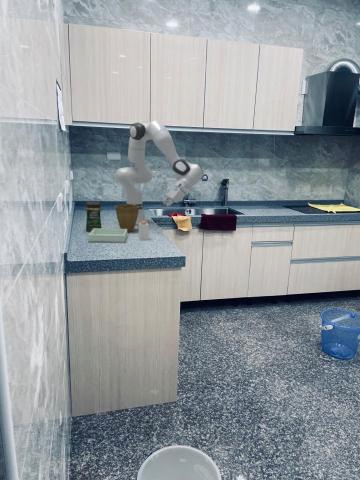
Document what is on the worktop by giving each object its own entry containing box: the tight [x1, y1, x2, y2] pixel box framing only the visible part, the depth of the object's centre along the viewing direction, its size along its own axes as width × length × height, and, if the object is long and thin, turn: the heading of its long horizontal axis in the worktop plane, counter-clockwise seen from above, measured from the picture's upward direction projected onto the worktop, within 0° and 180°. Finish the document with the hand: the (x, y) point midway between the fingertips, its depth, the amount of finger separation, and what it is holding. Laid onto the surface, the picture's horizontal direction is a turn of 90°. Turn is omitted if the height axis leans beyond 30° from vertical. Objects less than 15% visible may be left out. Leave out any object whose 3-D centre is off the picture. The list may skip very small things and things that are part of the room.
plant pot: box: [114, 204, 139, 233], centre depth 226 cm, size 15×15×16 cm
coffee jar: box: [85, 201, 102, 232], centre depth 224 cm, size 10×8×19 cm
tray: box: [87, 228, 128, 244], centre depth 206 cm, size 18×20×4 cm
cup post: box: [138, 222, 149, 241], centre depth 208 cm, size 5×5×9 cm
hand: (165, 204), depth 207 cm, fingers open, 8 cm apart
